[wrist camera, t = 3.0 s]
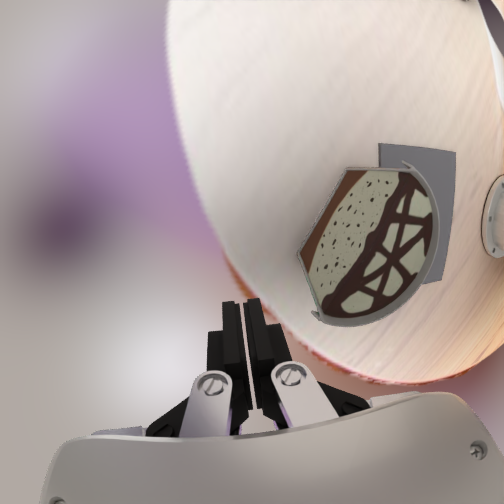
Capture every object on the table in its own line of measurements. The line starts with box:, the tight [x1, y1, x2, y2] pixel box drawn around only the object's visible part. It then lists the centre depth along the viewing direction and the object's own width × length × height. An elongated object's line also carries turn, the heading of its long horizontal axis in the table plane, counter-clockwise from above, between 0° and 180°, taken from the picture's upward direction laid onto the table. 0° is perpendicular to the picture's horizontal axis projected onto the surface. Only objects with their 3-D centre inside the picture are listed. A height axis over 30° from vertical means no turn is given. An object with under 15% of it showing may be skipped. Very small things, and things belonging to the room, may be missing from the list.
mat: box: [379, 143, 456, 284], centre depth 25 cm, size 11×16×1 cm
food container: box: [297, 160, 440, 327], centre depth 20 cm, size 12×6×10 cm, turn 152°
